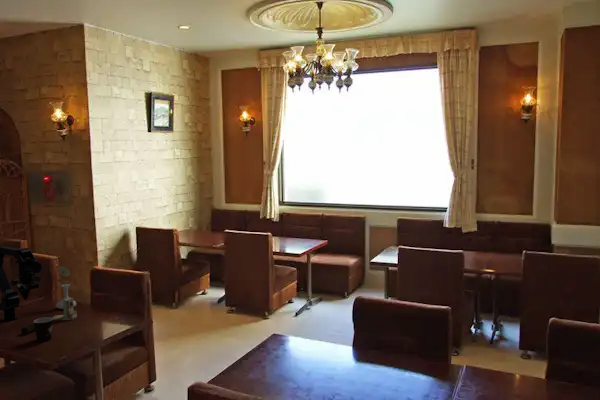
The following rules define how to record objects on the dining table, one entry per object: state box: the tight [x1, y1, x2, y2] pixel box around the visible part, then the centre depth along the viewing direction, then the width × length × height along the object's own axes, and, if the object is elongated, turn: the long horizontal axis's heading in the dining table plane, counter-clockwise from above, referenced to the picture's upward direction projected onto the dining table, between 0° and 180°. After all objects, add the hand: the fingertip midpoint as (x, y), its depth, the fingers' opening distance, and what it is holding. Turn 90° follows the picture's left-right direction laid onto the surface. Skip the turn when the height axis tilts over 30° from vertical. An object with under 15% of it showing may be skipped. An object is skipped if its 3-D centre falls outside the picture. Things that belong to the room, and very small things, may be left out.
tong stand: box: [51, 297, 78, 321], centre depth 281 cm, size 12×6×11 cm, turn 93°
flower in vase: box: [55, 266, 77, 310], centre depth 301 cm, size 13×11×25 cm
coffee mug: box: [33, 316, 55, 343], centre depth 249 cm, size 12×9×10 cm
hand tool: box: [20, 315, 50, 336], centre depth 264 cm, size 19×4×5 cm, turn 165°
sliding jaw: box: [63, 296, 71, 318], centre depth 281 cm, size 2×6×10 cm, turn 3°
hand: (25, 299), depth 273 cm, fingers closed
